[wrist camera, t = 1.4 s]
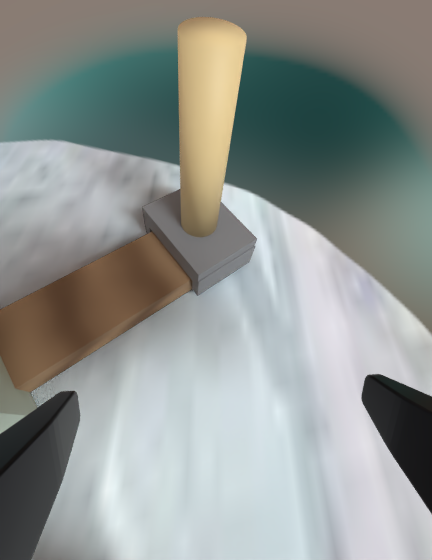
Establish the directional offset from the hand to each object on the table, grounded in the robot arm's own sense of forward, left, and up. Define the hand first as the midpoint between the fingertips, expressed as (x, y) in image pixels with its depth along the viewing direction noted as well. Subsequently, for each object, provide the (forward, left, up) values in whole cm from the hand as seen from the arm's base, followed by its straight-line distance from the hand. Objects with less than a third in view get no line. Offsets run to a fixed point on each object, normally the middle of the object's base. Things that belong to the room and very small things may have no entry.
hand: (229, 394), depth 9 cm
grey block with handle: (+8, +12, -13) cm, 20 cm away
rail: (+2, +12, -13) cm, 18 cm away
